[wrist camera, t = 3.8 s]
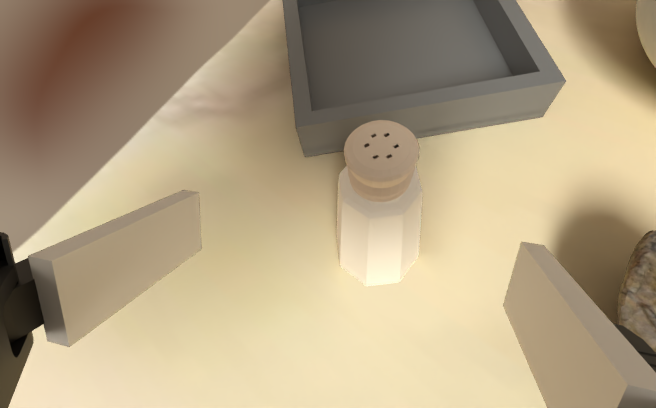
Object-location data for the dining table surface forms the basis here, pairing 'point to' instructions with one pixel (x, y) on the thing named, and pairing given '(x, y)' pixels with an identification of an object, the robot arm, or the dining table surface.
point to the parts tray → (413, 67)
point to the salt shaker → (379, 203)
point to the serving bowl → (647, 27)
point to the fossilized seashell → (640, 291)
